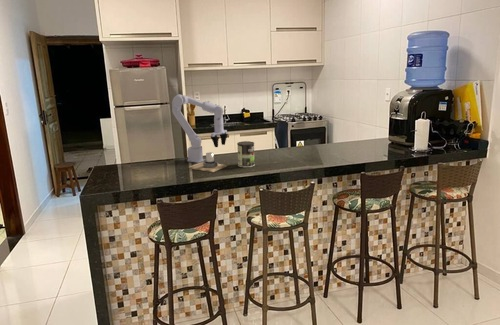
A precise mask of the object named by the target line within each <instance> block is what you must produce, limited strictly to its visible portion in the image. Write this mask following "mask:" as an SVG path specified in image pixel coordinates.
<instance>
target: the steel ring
mask: <svg viewBox="0 0 500 325" xmlns="http://www.w3.org/2000/svg"><path fill="white" fill-rule="evenodd" d="M202 162H203V167H204V168H215V167H217V166H218V164H219V162H218V161H217V160H214V163H211V164H208V163H207V162H206V160H205V161H202Z"/></svg>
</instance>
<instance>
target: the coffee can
mask: <svg viewBox="0 0 500 325" xmlns="http://www.w3.org/2000/svg"><path fill="white" fill-rule="evenodd" d="M236 144H237V166H238V167H240V168H252V167H255V165H256V164H255V142H254V141H247V140H245V141H239V142H237V143H236Z"/></svg>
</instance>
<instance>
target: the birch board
mask: <svg viewBox="0 0 500 325" xmlns="http://www.w3.org/2000/svg"><path fill="white" fill-rule="evenodd" d="M203 162H204V161H202V162H199V163H195V164H193V165H190V166H188V169H191V170H197V171H203V172H207V173H208V172H209V173H214V172H217V171H219V170H221V169H224V168H226V167H228V166H227V164H223V163H218V166H217V167H215V168H204V167H203Z"/></svg>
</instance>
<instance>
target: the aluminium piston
mask: <svg viewBox="0 0 500 325" xmlns="http://www.w3.org/2000/svg"><path fill="white" fill-rule="evenodd" d="M205 157H206V158H205V159H206V160H205V161H206V162H207V163H208V164H211V163H214V161H215V158H214V157H215V154H214V152H210V151H209V152H206V153H205Z"/></svg>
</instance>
